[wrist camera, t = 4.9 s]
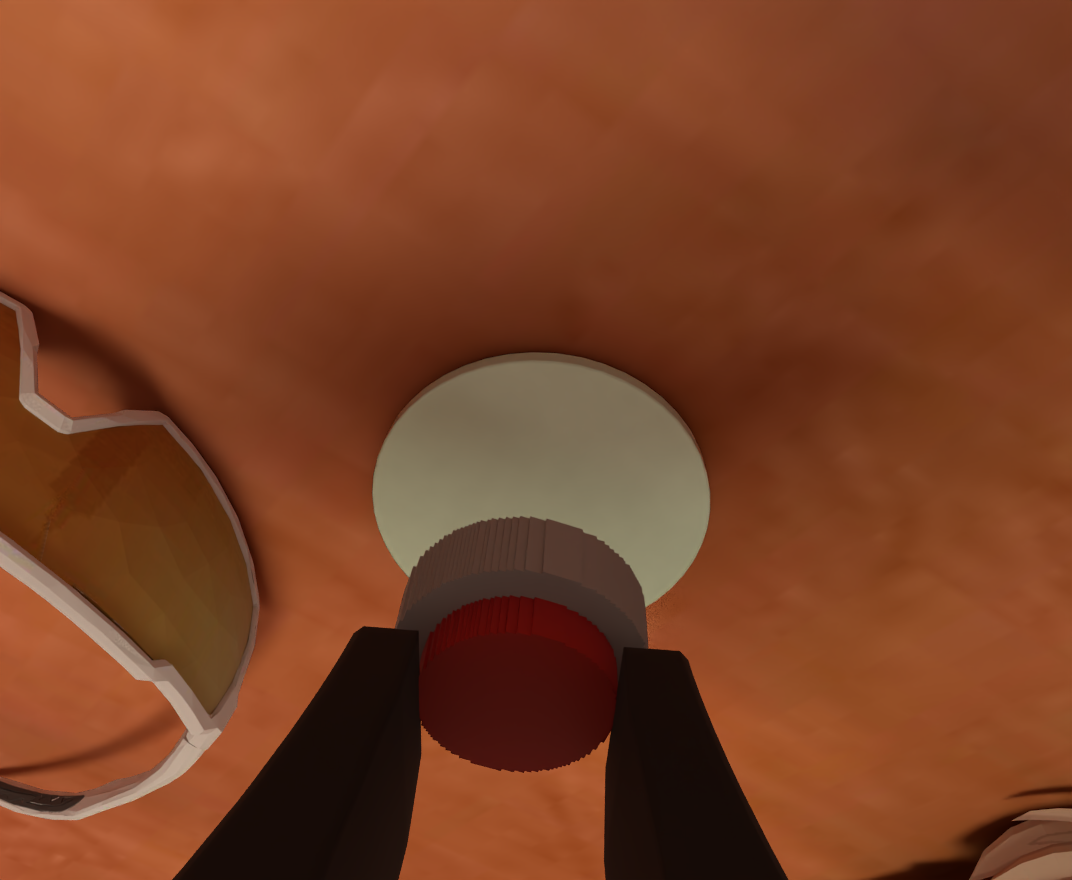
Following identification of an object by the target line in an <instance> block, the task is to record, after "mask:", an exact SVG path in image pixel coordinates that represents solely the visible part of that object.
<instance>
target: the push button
mask: <svg viewBox="0 0 1072 880" xmlns="http://www.w3.org/2000/svg"><path fill="white" fill-rule="evenodd" d="M395 629H404V630H417V631H419V668H420V675H419V717H420V721H422V724H421V725H422V726H424V728H425V729H426V731H428V734H430V735H431V736H430V737H433V740H436V741H438V743H439V744H441V745H440V746H442V747H446V750H449V751H451V753H452V754H456V755H459V758H462V759H466V760H470V761H471V763H473V764H477V765H481V766H484V767H488V768H492V769H496V770H499V771H501V769H504V770H508V771H511V772H514V771H515V770H516V771H519V772H523V773H524V771H527V772H531V771H536V772H538V771H539V770H540V771H542V770H543V769H544V770H548V771H549V770H550V769H554V768H558V767H562V766H566V764H567V765H570V763H571V762H575V761H576V760H577V761H579V760H580V758H581V757H582V758H584V757H585V756H586V754H588V755H590V753H591V751H592V750H593V749H595V750H596V749H597V747H598V745H599V744H600V742H603V743H604V741H605V740H606V738H607V736H608V735H609V733H610V731H611V730H612V727H613V720H614V714H615V707H616V700H617V697H616V696H617V688H618V681H619V675H620V668H621V661H622V654H623V648H624V647H633V648H645V649H648V637H647V622H646V610H645V600H644V595H643V593H642V586H640V583H639V580H637V577H635V574H634V572H633V571H632V568H630V565H628V564H625V561H624V558H622V557H619V554H618V553H615V552H614V550H613V549H610V548H609V545H606V544H605V541H601V540H598V539H597V536H594V535H590V534H587V533H584V532H583V529H580V528H576V527H573V526H570V525H567V524H563V523H560V522H557V521H554V520H550V519H546V521H545V520H542V519H538V518H535V517H532V516H530V518H526V517H523V516H520V517H519V518H517V517H514V516H513V518H508V517H506V518H505V519H503V518H500V517H499V518H498V520H497V519H494V518H492V519H491V520H489V519H488V520H487V522H486V521H483V520H481V521H480V522H478V521H477V522H476V523H473V524H472V525H470V524H469V525H468V526H465V527H464V528H463V527H461V528H460V529H457V530H456V531H455V530H453V532H452V534H448V536H446V535H444V538H443V540H442V539H439V542H438V543H435V544H434V547H432V546H430V549H429V550H425V553H424V556H420V558H419V561H418V564H417V566H413V568H412V571H411V574H410V577H409V580H408V583H407V585H406V588H405V591H404V595H403V599H402V602H401V606H400V610H399V614H398V618H397V622H396V626H395Z"/></svg>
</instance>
